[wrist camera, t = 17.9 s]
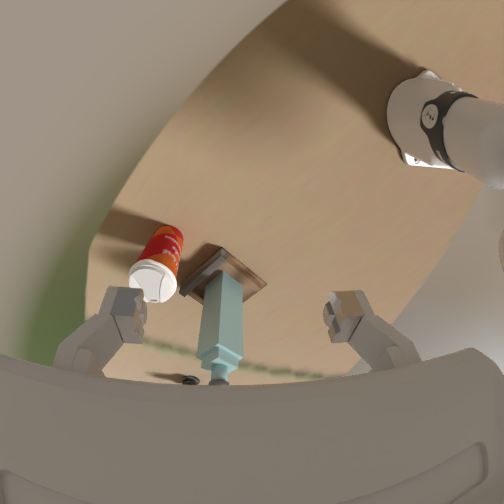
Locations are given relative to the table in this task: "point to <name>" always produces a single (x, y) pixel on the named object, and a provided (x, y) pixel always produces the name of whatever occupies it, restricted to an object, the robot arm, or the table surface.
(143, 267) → the paper cup
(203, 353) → the bottle
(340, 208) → the table surface
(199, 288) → the brown square frame
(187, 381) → the salt shaker
